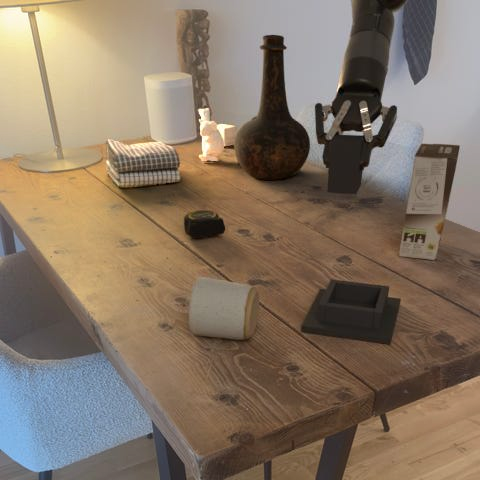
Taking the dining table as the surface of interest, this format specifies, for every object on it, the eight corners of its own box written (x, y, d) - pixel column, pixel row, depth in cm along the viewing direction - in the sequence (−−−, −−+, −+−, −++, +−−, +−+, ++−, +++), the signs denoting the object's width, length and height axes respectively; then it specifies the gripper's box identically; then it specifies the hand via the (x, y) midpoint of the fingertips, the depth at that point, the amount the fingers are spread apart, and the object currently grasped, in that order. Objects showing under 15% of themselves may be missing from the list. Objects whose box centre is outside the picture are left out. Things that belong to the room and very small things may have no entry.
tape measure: (190, 244, 103) (188, 223, 100) (180, 231, 108) (179, 211, 105) (225, 238, 104) (225, 218, 102) (215, 226, 110) (214, 206, 107)
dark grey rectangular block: (361, 186, 98) (366, 135, 93) (356, 194, 95) (361, 142, 90) (332, 184, 100) (336, 134, 94) (326, 192, 96) (330, 141, 91)
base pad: (399, 304, 83) (403, 282, 80) (390, 345, 74) (394, 321, 72) (319, 294, 86) (321, 272, 84) (301, 332, 77) (302, 308, 75)
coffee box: (436, 261, 95) (457, 158, 85) (397, 257, 96) (414, 155, 86) (440, 241, 101) (460, 144, 91) (404, 238, 103) (420, 142, 93)
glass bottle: (286, 162, 145) (290, 29, 128) (322, 179, 133) (332, 35, 115) (223, 171, 140) (218, 34, 122) (254, 190, 127) (254, 40, 110)
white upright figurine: (192, 158, 150) (189, 107, 142) (216, 155, 152) (214, 105, 144) (203, 166, 144) (201, 113, 136) (228, 163, 146) (226, 110, 138)
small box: (238, 144, 161) (237, 125, 158) (224, 148, 158) (223, 129, 155) (223, 141, 164) (223, 122, 161) (210, 145, 161) (209, 126, 158)
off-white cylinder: (249, 351, 73) (249, 296, 68) (189, 345, 75) (185, 290, 70) (265, 314, 81) (266, 263, 77) (210, 309, 83) (207, 259, 78)
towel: (119, 192, 128) (114, 155, 123) (105, 172, 141) (100, 137, 136) (184, 184, 132) (181, 147, 127) (164, 165, 145) (161, 131, 140)
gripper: (319, 54, 93) (298, 151, 91) (408, 54, 89) (388, 155, 88) (323, 86, 100) (304, 176, 99) (406, 88, 96) (388, 182, 95)
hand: (344, 166), depth 93 cm, fingers closed on dark grey rectangular block, 5 cm apart
